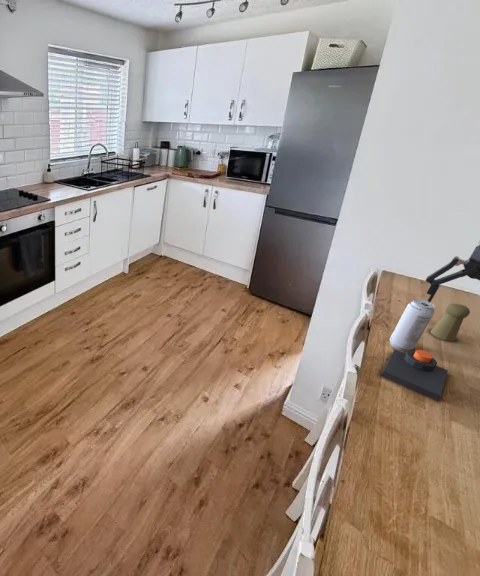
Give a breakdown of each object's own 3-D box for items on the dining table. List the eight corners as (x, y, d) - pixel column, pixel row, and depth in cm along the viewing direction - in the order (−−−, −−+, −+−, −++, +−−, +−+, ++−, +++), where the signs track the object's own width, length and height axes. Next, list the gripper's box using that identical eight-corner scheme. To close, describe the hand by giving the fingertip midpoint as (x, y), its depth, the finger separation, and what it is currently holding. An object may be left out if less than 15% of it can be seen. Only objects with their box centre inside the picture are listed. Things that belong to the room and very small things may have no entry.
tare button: (414, 353, 102) (417, 348, 101) (430, 359, 100) (433, 354, 99) (412, 358, 100) (414, 353, 99) (428, 365, 98) (431, 360, 97)
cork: (432, 327, 120) (449, 298, 115) (456, 336, 116) (475, 306, 111) (428, 334, 116) (446, 305, 111) (453, 343, 112) (472, 313, 107)
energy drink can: (402, 340, 113) (425, 298, 106) (417, 352, 108) (443, 309, 100) (383, 339, 113) (405, 297, 105) (398, 352, 107) (422, 308, 100)
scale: (392, 352, 107) (397, 342, 106) (445, 373, 100) (451, 363, 98) (380, 375, 98) (386, 365, 96) (437, 400, 91) (444, 390, 89)
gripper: (560, 260, 97) (511, 326, 107) (440, 233, 112) (408, 293, 122) (561, 268, 92) (511, 336, 103) (436, 239, 107) (403, 300, 118)
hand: (455, 313), depth 112 cm, fingers open, 13 cm apart
